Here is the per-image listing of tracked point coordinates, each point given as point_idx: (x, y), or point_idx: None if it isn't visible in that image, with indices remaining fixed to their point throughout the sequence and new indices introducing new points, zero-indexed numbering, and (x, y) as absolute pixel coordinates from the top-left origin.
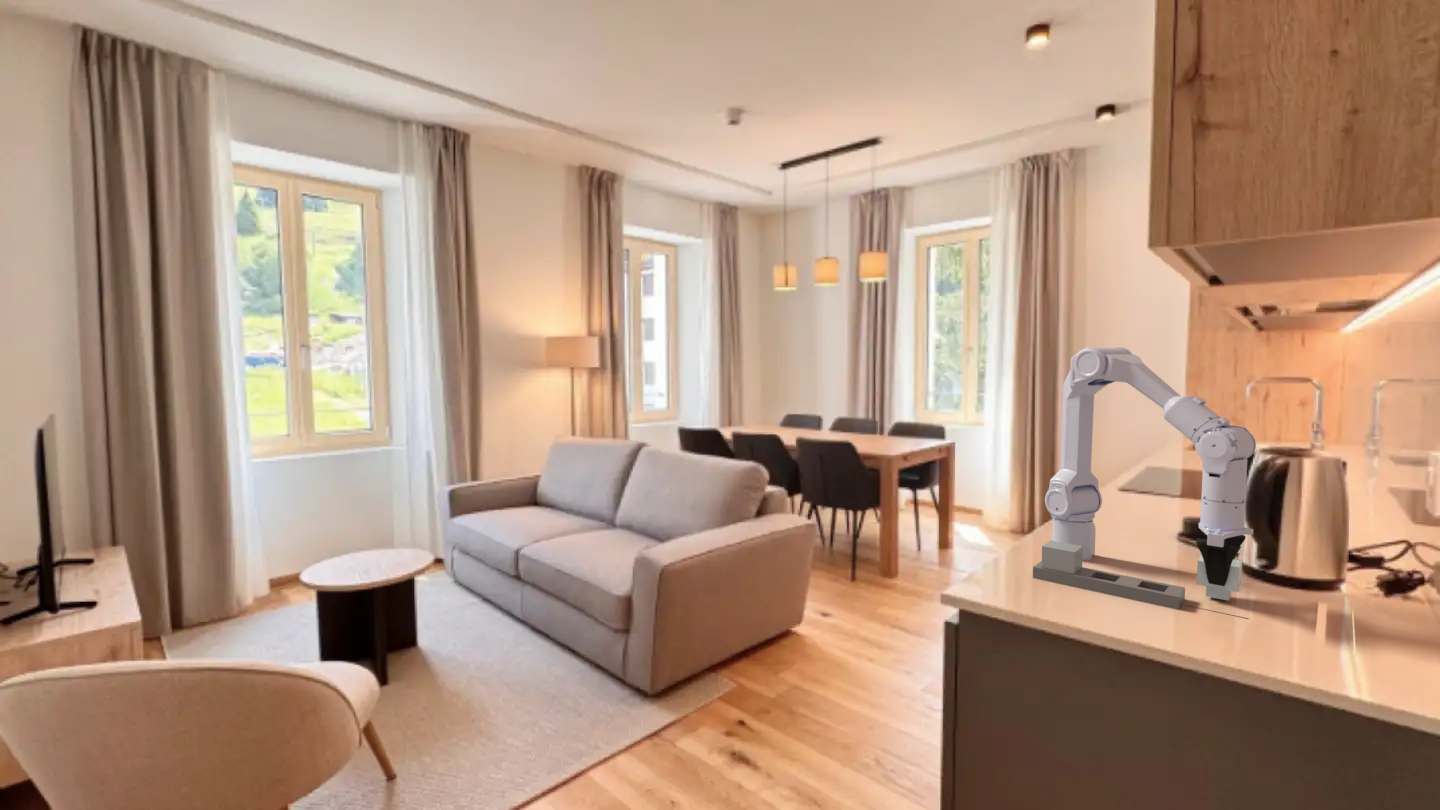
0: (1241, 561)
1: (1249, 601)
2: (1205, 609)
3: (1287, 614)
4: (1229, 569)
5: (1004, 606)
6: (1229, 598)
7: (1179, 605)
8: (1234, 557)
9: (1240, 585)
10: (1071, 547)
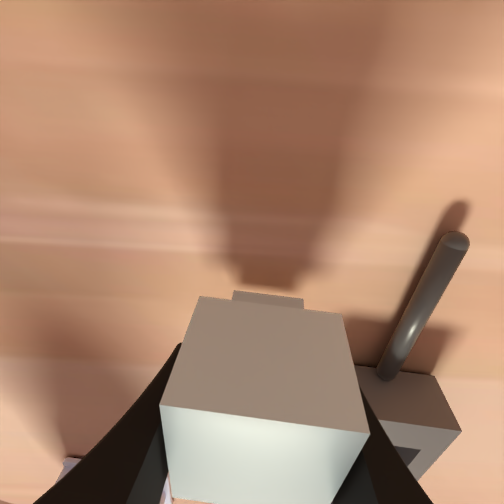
0: (185, 410)
1: (138, 215)
2: (410, 344)
3: (206, 98)
4: (387, 448)
5: None
6: (278, 297)
7: (423, 395)
8: (153, 440)
9: (233, 302)
10: None
